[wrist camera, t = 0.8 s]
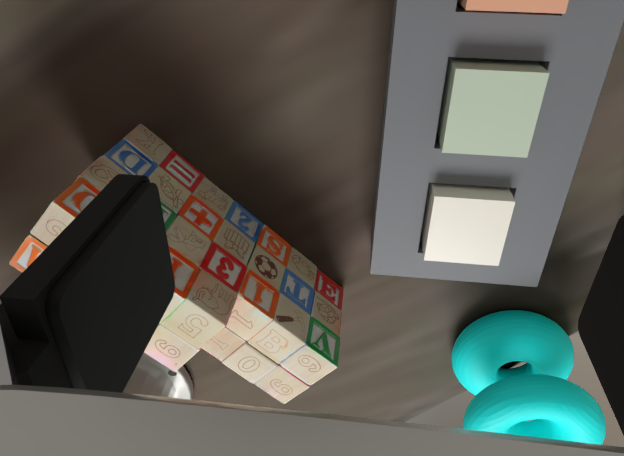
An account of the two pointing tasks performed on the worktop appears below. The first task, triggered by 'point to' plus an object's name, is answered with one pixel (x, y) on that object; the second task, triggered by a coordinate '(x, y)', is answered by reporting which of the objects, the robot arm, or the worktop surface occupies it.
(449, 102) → the sage key
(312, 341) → the stack of blocks
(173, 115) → the worktop surface
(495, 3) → the terracotta key
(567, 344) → the donuts
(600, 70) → the key panel
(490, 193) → the cream key
